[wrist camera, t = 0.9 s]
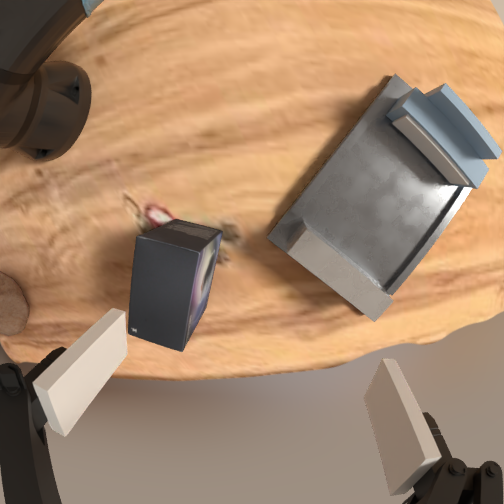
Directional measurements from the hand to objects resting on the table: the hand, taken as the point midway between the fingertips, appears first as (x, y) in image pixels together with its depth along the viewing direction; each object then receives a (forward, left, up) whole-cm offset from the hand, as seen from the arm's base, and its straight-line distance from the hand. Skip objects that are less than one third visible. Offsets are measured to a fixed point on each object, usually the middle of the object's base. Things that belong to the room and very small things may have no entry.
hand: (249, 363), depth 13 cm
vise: (+7, +13, -21) cm, 26 cm away
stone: (-31, -36, -22) cm, 53 cm away
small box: (-6, -7, -22) cm, 24 cm away
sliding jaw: (+7, +23, -20) cm, 31 cm away
